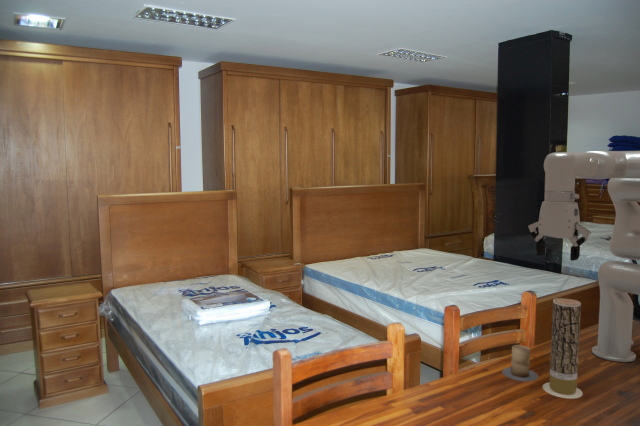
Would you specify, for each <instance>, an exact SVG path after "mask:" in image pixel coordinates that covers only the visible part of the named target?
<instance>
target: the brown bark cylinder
mask: <svg viewBox="0 0 640 426" xmlns="http://www.w3.org/2000/svg"><path fill="white" fill-rule="evenodd" d="M581 306H582V303H581V301H579V300H576V299H574V298H573V299H572V298H571V299H570V298H561V297H559V298H557V297H556V298H553V301H552V320H551V321H552V322H551V323H552V324H551V340H550V341H551V342H550V343H551V345H550V359H549V360H550V363H549V382H550V384H549V385H550V387H551V389H552V390H554V391H556V392H558V393H563V394H572V393H575V392H576V389H577V388H578V385H577V384H578V371H579V369H578V367H579V351H580V350H579V347H580V329H581V313H582V309H581V308H582V307H581Z"/></svg>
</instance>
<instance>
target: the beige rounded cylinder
mask: <svg viewBox="0 0 640 426" xmlns="http://www.w3.org/2000/svg"><path fill="white" fill-rule="evenodd" d="M530 359H531V348H530V347H529V346H527V345H526V346H525V345H521V344H514V345H512V346H511V363H510V364H511V366H510V367H511V374H512V375H514V376H516V377H521V378H526V377H529V370H530V361H531V360H530Z"/></svg>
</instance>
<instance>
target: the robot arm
mask: <svg viewBox="0 0 640 426" xmlns="http://www.w3.org/2000/svg"><path fill="white" fill-rule="evenodd" d="M543 170H544V173H545V174H544V175H545V177H544V201H542V202H541V206H540V210H539V215H538V216H539V217H538V221H536V222H534V223H531V224H528V229H529V230H528V231H529V232H530V235H531V236H532V237H533V239H534V242H536V247H535V249H536V250H535V251H536V255H537V256H543V255H545V253H546V240H545V239H546V238H547V237H548V238H555V239H567V240H568V241H569V242H570V244H572V245H571V246H570V257H569V258H570V259H569V260H570V261H572V262H573V261H577V260H578V259H579V257H580V255H581V252H580V251H581V246H582V245H583V244H584V243H585V242H587V240H588V238H589V236H590V235H591V230H590V229H588V228H586V227H584V226H583V225H581V219H580V209H579V204H578V202H575V200H578V199H580V194H579V193H576V190H575V188H576V179H589V180H590V179H591V180H595V179H597V180H603V179H609V180H608V181H607V192H608V194H609V197H610V199H611V202H612V203H613V207H614V210H615V219H614V225H613V229H612V234H611V238H610V243H609V250H610V251H609V252H610V253H611V255H613V256H614V257H617V258H621V259H625V260H626V259H627V260H634V261H640V204H639V203H640V150H620V151H619V150H591V151H561V152H560V151H558V152H557V151H556V152H551V153H549V154H547V155H546V157H545V158H544V162H543ZM536 228H538V230H537V229H536ZM580 234H581V237H580ZM579 237H580V238H579ZM597 279H598V280H597V281H598V286H599V311H598V312H599V313H598V330H597V331H598V333H597V345H595V346H593V347H592V348H591V352H592V354H593V355H594V356H596V357H598V358H601V359H603V360H606V361H611V362H616V363H629V362H630V363H631V362H634V361H635V360H636V359H637V355H636V353H635V352H633V351H632V350H631V349H632V346H633V345H634V344H635V343H634V340H632V336H633V334H632V332H633V318H634V317H633V316H634V303H633V301H632V298H631V297H630V295H629V294H631V295H632V294H634V295H637V296H640V264H638V263H632V262H625V261H619V260H607V261H605V262H603V263H602V264H600V266H599V267H598V272H597Z"/></svg>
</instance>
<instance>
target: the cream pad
mask: <svg viewBox="0 0 640 426" xmlns="http://www.w3.org/2000/svg"><path fill="white" fill-rule="evenodd" d="M549 384H550V381H549V382H545V383H544V384H543V385H542V389H543V390H544V391H545V392H546V393H548V394H549V395H552V396H554V397H556V398H557V397H558V398H562V399H568V400H569V399H571V400H572V399H579V398H581V397H582V396H583V394H584V393H583V391H582V389H580V388H579V387H577V389H576V392H575V393H572V394H563V393H558V392H556V391H554V390H552V389H551V387H550V385H549Z"/></svg>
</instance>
